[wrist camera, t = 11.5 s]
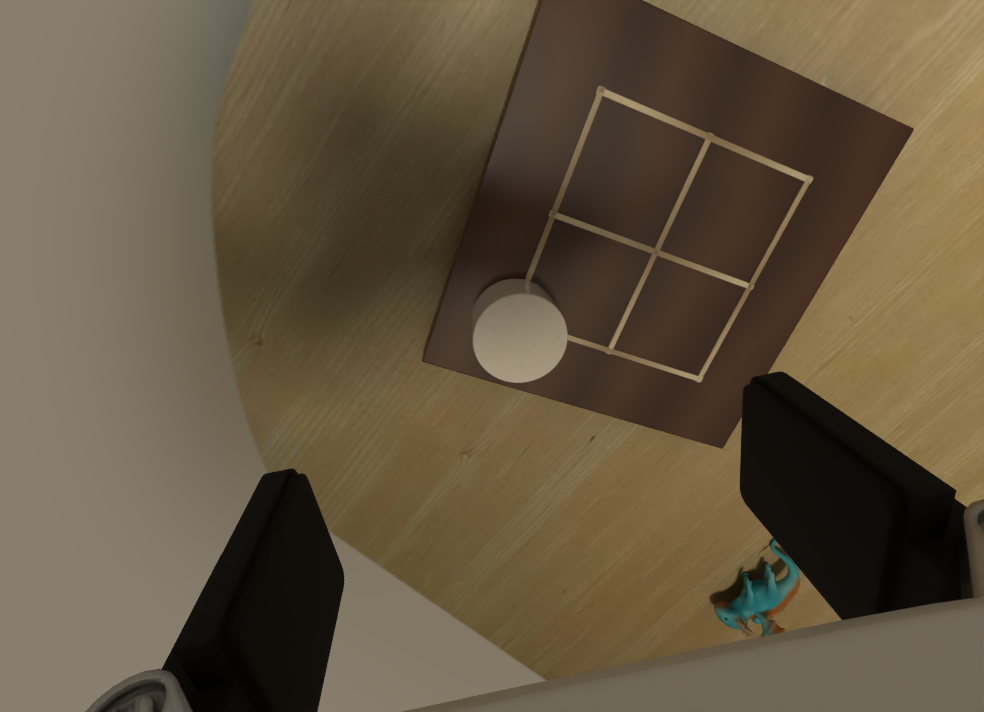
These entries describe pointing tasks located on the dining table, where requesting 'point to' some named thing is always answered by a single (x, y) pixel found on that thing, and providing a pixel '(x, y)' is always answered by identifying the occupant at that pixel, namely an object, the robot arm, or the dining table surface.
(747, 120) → the board
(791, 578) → the dragon figurine
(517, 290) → the beige round puck
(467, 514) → the dining table surface
